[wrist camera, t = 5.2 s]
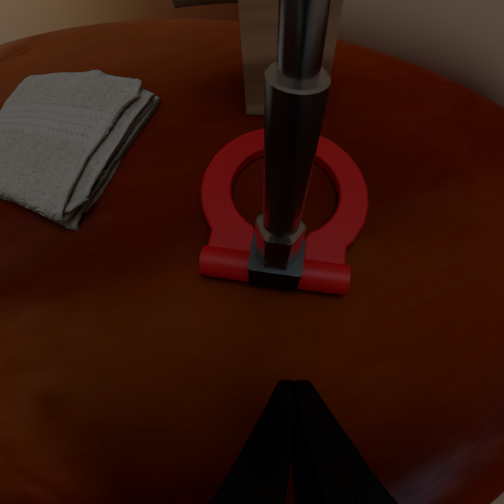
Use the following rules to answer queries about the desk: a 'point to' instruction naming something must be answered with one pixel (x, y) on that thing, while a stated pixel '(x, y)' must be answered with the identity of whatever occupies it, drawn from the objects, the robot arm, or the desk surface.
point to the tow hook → (286, 175)
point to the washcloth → (68, 139)
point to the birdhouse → (266, 42)
